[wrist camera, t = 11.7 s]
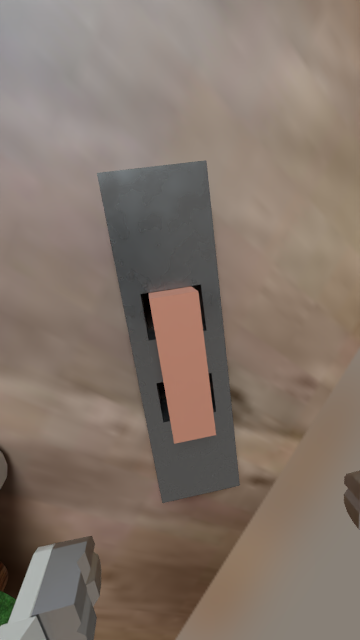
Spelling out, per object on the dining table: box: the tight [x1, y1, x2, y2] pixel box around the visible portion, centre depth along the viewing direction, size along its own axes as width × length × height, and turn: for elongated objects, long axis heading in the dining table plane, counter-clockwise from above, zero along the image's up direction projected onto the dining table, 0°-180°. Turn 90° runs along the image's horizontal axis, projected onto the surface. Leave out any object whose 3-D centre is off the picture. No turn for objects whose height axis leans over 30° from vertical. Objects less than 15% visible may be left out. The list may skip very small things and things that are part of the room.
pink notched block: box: [149, 287, 216, 444], centre depth 23 cm, size 12×4×7 cm, turn 8°
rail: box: [97, 161, 240, 503], centre depth 25 cm, size 30×8×4 cm, turn 8°
